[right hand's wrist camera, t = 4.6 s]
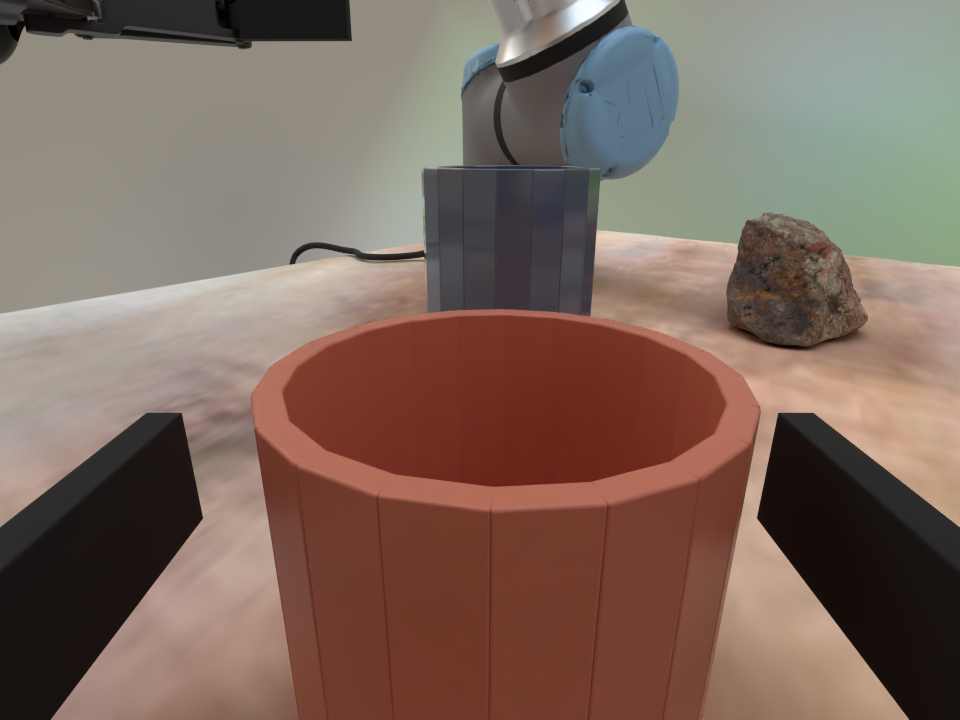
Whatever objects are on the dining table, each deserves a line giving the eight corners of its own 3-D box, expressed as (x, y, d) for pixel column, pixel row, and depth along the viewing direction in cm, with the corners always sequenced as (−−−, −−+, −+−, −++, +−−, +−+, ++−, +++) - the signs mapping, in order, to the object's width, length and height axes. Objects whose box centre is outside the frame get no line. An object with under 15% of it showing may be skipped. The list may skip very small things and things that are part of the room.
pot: (725, 619, 17) (780, 343, 14) (623, 1058, 9) (701, 618, 6) (446, 515, 21) (440, 294, 18) (211, 733, 13) (134, 403, 10)
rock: (685, 335, 45) (819, 369, 38) (695, 226, 42) (844, 241, 35) (769, 293, 53) (892, 315, 46) (783, 200, 50) (917, 208, 43)
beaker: (606, 375, 35) (624, 166, 31) (544, 435, 27) (556, 170, 23) (480, 350, 39) (480, 164, 35) (396, 396, 32) (384, 167, 28)
